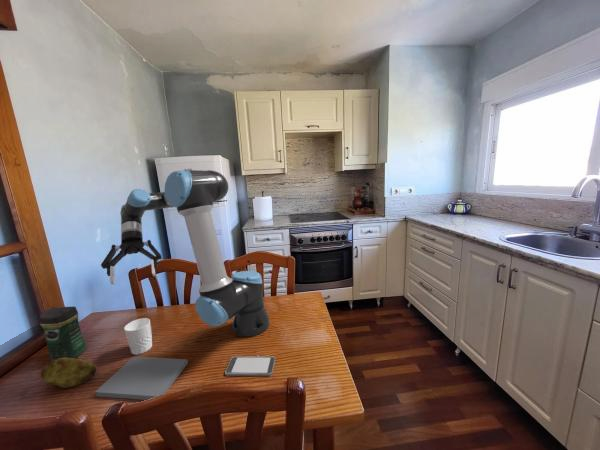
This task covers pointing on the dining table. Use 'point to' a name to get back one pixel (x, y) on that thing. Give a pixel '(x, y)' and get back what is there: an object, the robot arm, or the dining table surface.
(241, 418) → the dining table surface
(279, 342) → the dining table surface
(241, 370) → the smartphone
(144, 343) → the white cup
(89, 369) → the potato
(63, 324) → the coffee jar
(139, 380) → the grey board
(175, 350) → the dining table surface
